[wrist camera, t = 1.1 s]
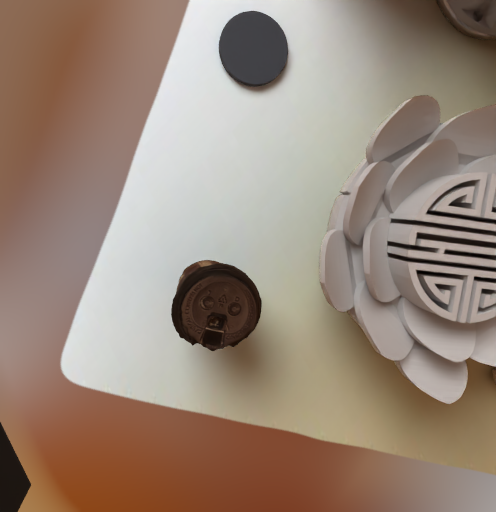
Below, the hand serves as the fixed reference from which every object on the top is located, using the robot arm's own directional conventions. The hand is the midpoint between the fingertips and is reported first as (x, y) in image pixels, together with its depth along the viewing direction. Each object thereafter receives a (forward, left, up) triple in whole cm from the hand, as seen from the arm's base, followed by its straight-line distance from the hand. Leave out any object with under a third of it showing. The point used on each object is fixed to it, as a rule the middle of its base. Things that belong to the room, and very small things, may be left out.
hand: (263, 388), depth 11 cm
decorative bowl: (+10, +26, -41) cm, 50 cm away
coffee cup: (+6, +1, -41) cm, 42 cm away
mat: (-18, +16, -41) cm, 48 cm away
